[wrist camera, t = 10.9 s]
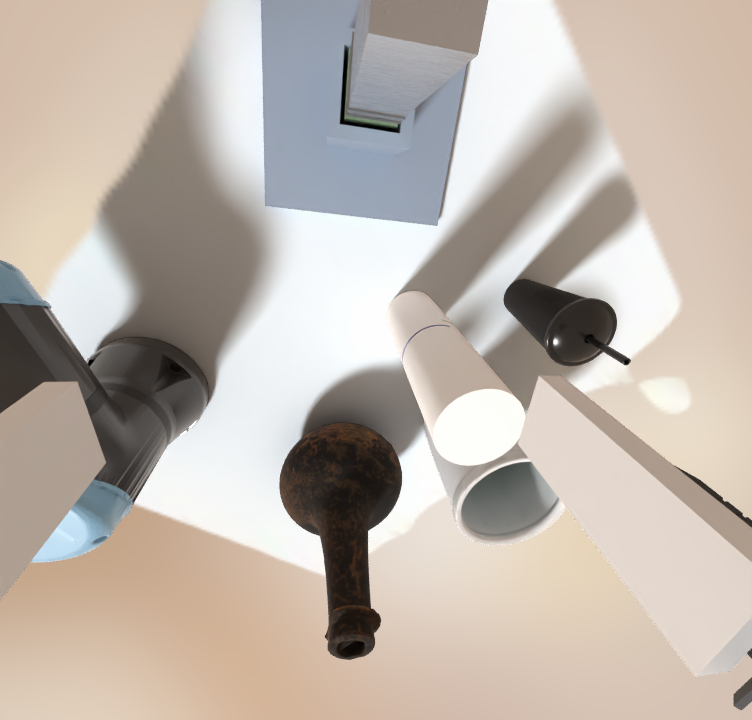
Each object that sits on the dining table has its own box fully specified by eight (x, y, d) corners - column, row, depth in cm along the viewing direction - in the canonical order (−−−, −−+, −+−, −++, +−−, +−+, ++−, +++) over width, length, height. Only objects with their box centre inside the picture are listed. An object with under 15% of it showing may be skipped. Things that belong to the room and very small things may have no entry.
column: (342, 125, 32) (363, 37, 12) (346, 65, 30) (378, -154, 10) (389, 133, 32) (480, 60, 13) (396, 74, 30) (514, -115, 11)
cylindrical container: (389, 288, 46) (442, 387, 24) (441, 292, 47) (537, 390, 25) (382, 338, 50) (425, 465, 27) (431, 341, 51) (510, 465, 28)
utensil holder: (491, 363, 54) (556, 438, 38) (520, 428, 60) (585, 514, 45) (405, 407, 55) (435, 496, 40) (442, 466, 62) (480, 561, 47)
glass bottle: (283, 489, 60) (251, 705, 35) (286, 402, 52) (247, 600, 28) (385, 490, 63) (421, 690, 38) (402, 408, 55) (461, 591, 31)
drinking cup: (484, 313, 50) (569, 387, 32) (510, 261, 47) (620, 310, 29) (528, 328, 52) (632, 405, 34) (556, 279, 49) (686, 335, 31)
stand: (267, 205, 40) (246, 212, 31) (262, -37, 31) (232, -135, 22) (434, 224, 43) (465, 237, 34) (473, 9, 35) (529, -58, 25)
